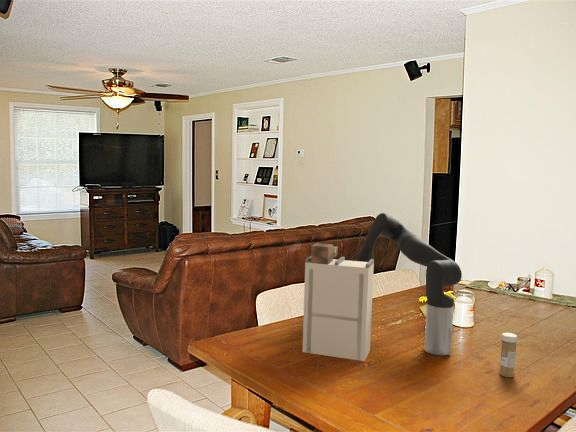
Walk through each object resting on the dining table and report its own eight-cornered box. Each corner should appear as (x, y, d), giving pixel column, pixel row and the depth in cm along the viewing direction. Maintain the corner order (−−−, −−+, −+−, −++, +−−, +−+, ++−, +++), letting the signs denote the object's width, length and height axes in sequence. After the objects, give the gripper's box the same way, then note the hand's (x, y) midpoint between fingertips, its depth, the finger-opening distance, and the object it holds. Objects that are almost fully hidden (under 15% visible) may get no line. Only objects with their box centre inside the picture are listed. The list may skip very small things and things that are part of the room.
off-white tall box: (369, 350, 183) (374, 259, 180) (364, 361, 173) (368, 264, 170) (310, 342, 190) (313, 254, 187) (302, 352, 180) (305, 259, 177)
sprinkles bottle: (496, 372, 167) (499, 332, 165) (509, 372, 167) (512, 332, 166) (503, 378, 162) (506, 336, 161) (517, 377, 163) (520, 336, 161)
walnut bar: (341, 254, 195) (342, 239, 194) (327, 264, 174) (328, 247, 174) (326, 253, 197) (326, 238, 196) (310, 263, 176) (311, 245, 176)
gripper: (326, 263, 215) (318, 248, 201) (359, 265, 211) (354, 251, 197) (323, 280, 212) (315, 266, 198) (357, 283, 208) (351, 269, 194)
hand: (334, 258), depth 197 cm, fingers open, 8 cm apart
